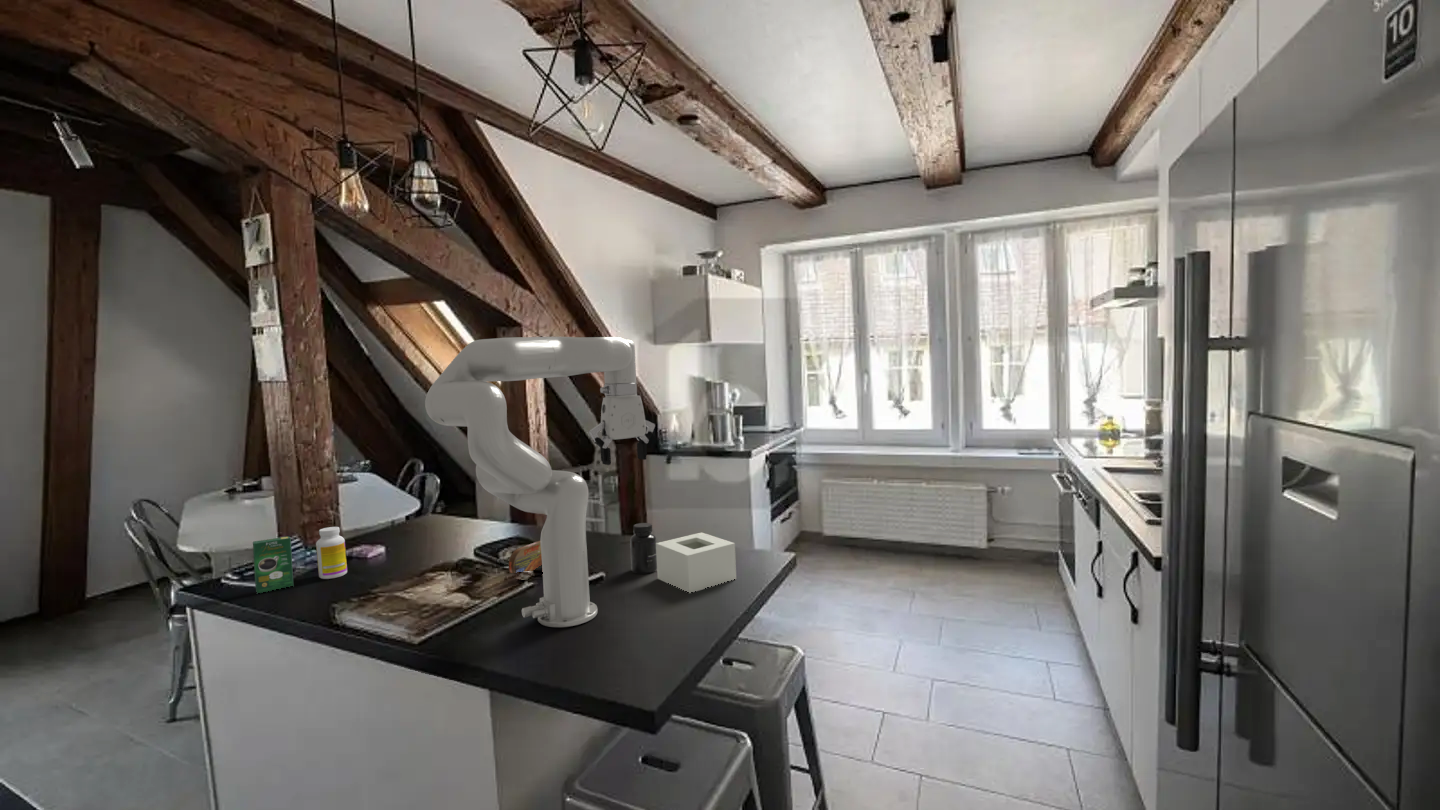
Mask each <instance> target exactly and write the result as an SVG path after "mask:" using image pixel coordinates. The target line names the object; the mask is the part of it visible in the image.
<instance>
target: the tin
mask: <svg viewBox="0 0 1440 810" xmlns="http://www.w3.org/2000/svg"><path fill="white" fill-rule="evenodd" d="M541 565H542V556H541V543H540V540H538V541H535V542H533V543H530V544H527V545H524V546H522V547H518V548H516V549H515V550H514V551H513V552H512V553H511V554H510V556H509V558H508V572H509V574H510V573H517V572H523V571H533V570H535V569H536V568H538V567H539V566H541Z"/></svg>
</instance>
